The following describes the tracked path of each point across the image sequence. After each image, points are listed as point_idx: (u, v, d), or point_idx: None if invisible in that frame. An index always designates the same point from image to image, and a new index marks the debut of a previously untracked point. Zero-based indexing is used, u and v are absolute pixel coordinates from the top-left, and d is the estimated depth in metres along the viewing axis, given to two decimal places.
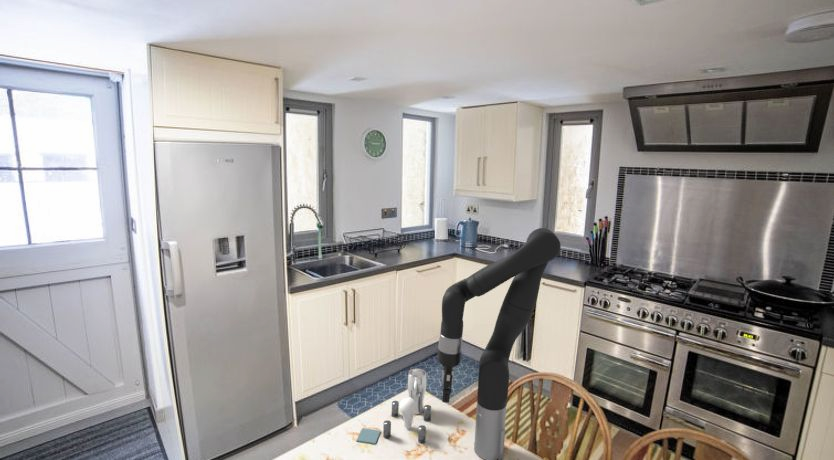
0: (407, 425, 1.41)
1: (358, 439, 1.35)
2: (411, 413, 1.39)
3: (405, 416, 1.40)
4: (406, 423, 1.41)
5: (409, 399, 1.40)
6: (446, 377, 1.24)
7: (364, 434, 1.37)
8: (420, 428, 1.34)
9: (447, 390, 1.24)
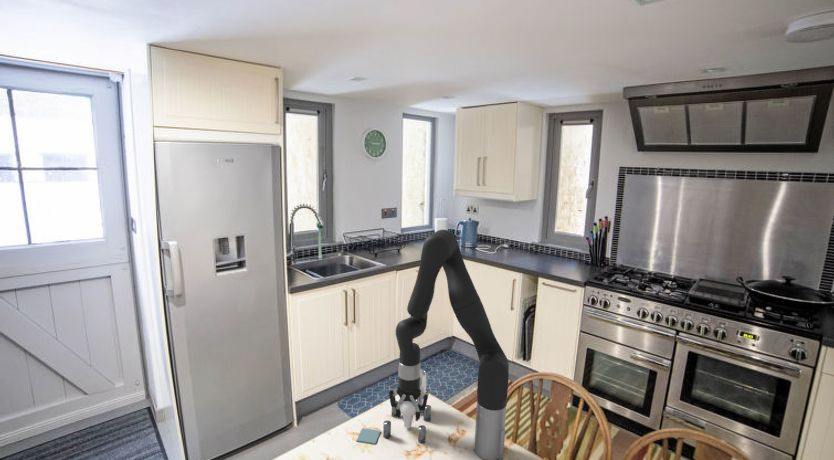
0: (407, 425, 1.41)
1: (358, 439, 1.35)
2: (411, 413, 1.39)
3: (405, 416, 1.40)
4: (406, 423, 1.41)
5: None
6: (427, 397, 1.39)
7: (364, 434, 1.37)
8: (420, 428, 1.34)
9: None
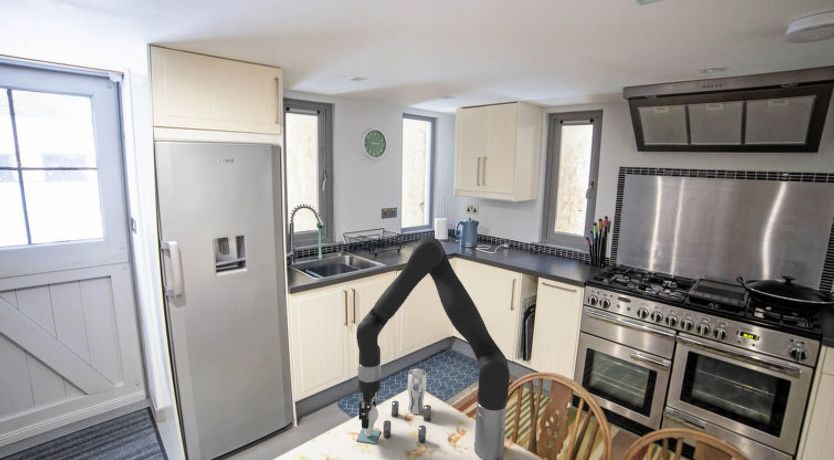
0: (372, 430, 1.36)
1: (358, 439, 1.35)
2: None
3: (374, 422, 1.35)
4: (372, 430, 1.36)
5: None
6: None
7: (364, 434, 1.37)
8: (420, 428, 1.34)
9: None
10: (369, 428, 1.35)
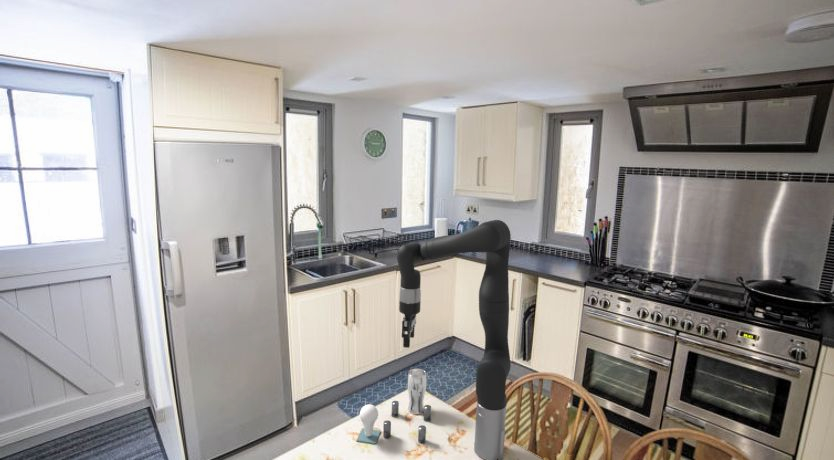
0: (372, 430, 1.36)
1: (358, 439, 1.35)
2: None
3: (374, 422, 1.35)
4: (372, 430, 1.36)
5: (369, 405, 1.35)
6: None
7: (364, 434, 1.37)
8: (420, 428, 1.34)
9: None
10: (369, 428, 1.35)
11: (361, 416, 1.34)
